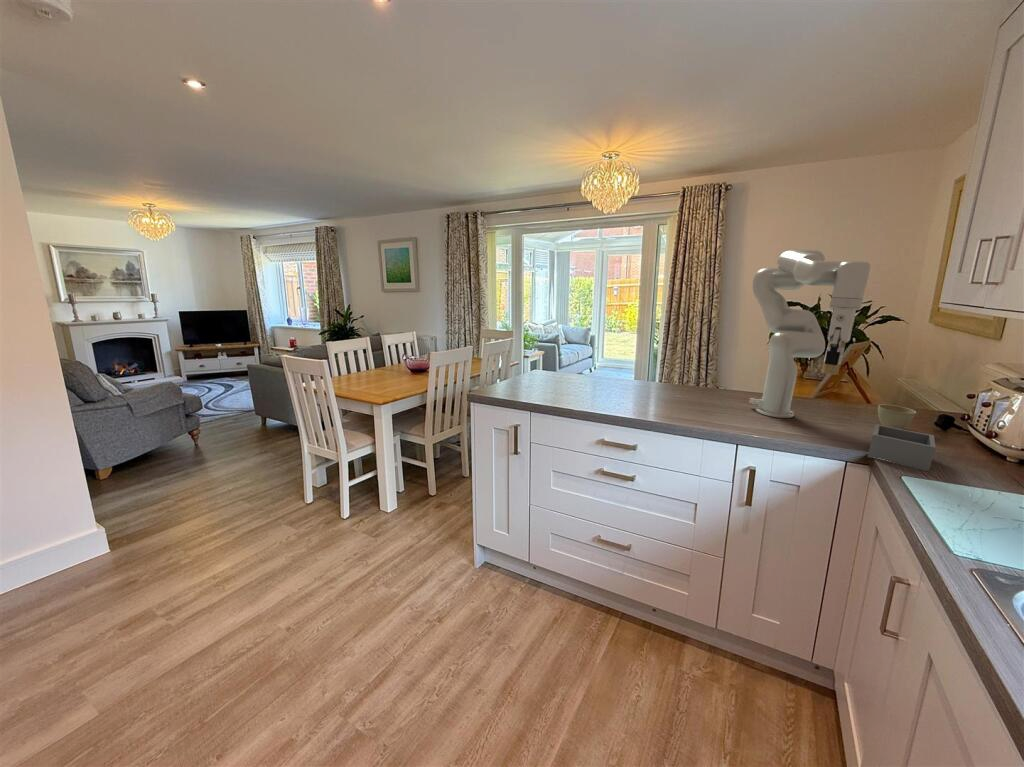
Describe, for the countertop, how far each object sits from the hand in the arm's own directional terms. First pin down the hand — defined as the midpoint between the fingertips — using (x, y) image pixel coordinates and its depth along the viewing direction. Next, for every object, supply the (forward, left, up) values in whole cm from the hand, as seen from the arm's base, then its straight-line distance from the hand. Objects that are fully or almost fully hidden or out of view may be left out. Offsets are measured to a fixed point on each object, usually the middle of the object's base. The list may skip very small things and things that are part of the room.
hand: (832, 362), depth 131 cm
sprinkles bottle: (0, 0, -4) cm, 4 cm away
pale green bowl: (+18, +33, -25) cm, 45 cm away
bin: (+20, -1, -25) cm, 32 cm away
